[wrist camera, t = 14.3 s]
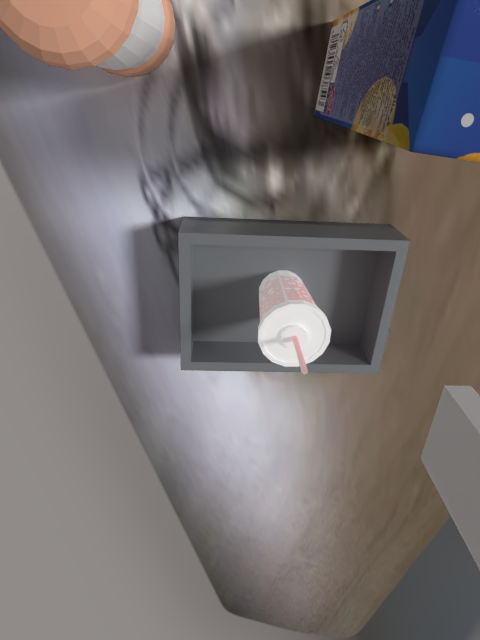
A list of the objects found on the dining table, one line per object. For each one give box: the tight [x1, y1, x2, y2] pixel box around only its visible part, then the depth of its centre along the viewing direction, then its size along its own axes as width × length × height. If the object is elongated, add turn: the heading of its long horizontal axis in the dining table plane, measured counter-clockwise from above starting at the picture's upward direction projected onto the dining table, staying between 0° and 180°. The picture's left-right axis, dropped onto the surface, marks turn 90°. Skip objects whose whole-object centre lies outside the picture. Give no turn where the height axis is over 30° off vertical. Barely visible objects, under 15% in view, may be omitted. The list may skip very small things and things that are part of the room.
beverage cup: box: [258, 270, 331, 374], centre depth 38 cm, size 6×6×14 cm
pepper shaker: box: [0, 0, 175, 76], centre depth 25 cm, size 7×7×19 cm
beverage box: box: [314, 0, 480, 162], centre depth 27 cm, size 7×11×22 cm, turn 82°
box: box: [178, 217, 410, 374], centre depth 43 cm, size 14×20×5 cm
